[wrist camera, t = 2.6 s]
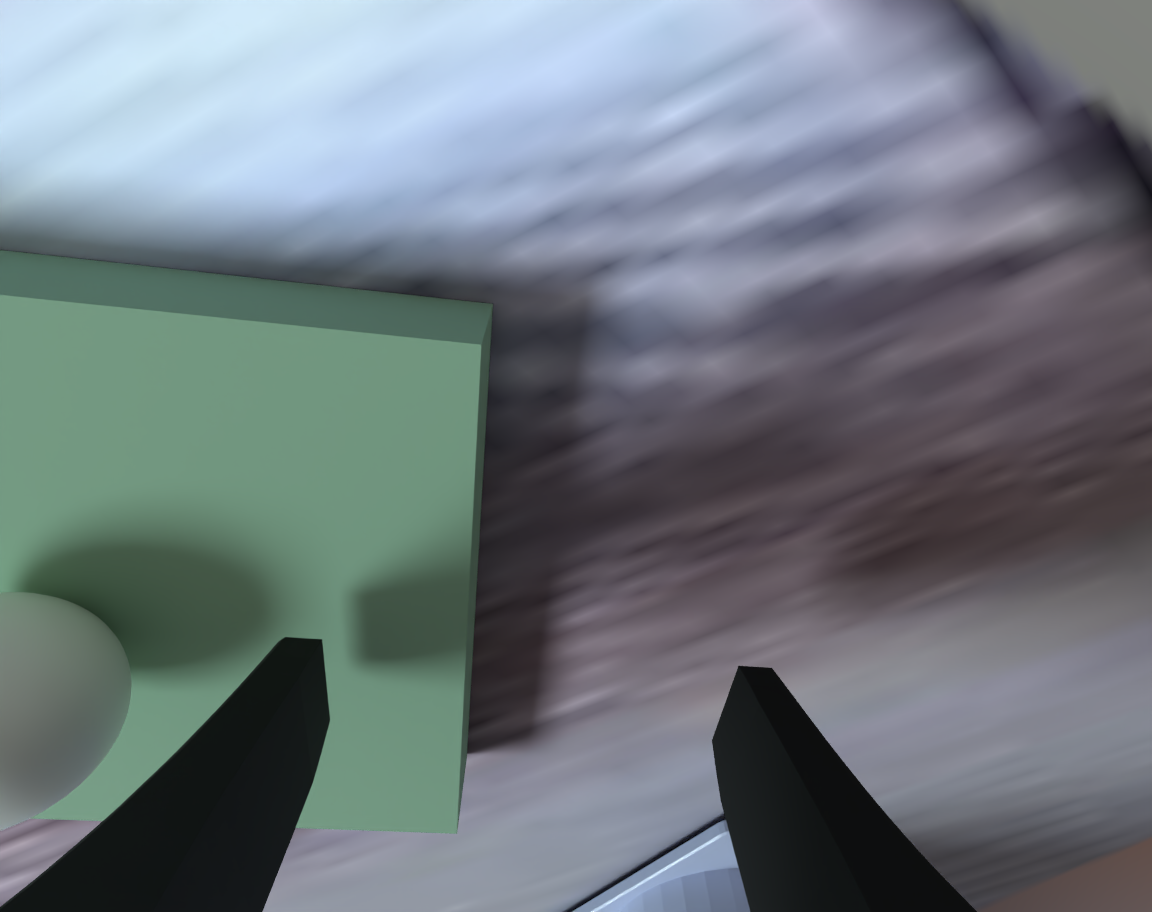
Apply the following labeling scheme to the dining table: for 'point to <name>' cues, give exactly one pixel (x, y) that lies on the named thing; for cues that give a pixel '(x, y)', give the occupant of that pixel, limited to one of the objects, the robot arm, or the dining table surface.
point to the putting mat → (254, 509)
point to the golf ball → (55, 700)
